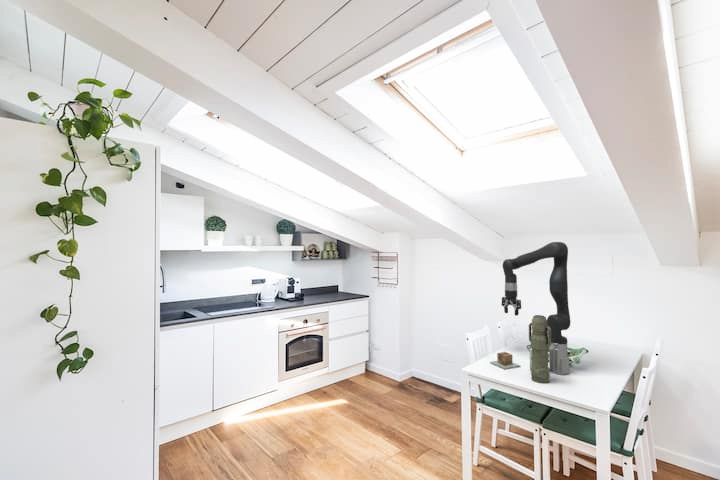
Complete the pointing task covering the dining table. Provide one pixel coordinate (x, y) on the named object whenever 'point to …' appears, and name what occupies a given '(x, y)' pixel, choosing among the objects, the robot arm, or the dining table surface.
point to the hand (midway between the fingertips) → (511, 314)
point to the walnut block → (504, 358)
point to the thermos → (540, 348)
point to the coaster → (505, 366)
